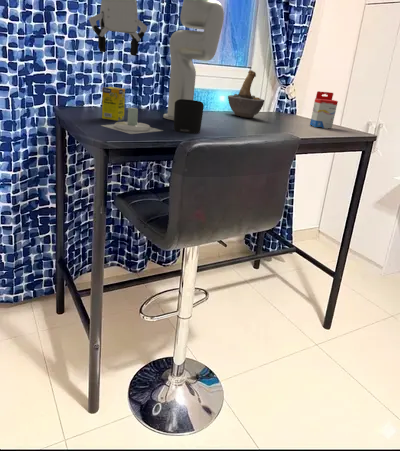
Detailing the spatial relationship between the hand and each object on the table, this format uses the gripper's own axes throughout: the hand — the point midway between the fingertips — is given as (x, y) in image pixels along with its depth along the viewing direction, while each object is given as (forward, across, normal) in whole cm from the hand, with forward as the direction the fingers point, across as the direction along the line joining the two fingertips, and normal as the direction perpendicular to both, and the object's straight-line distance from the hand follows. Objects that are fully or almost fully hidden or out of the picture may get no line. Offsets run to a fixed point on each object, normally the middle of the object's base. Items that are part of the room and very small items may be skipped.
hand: (118, 53), depth 122 cm
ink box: (+21, -96, -2) cm, 98 cm away
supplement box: (+22, -5, -14) cm, 27 cm away
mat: (+22, -5, +2) cm, 22 cm away
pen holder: (+22, -22, +6) cm, 32 cm away
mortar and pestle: (+22, -71, -26) cm, 79 cm away
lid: (+21, -5, +2) cm, 22 cm away
